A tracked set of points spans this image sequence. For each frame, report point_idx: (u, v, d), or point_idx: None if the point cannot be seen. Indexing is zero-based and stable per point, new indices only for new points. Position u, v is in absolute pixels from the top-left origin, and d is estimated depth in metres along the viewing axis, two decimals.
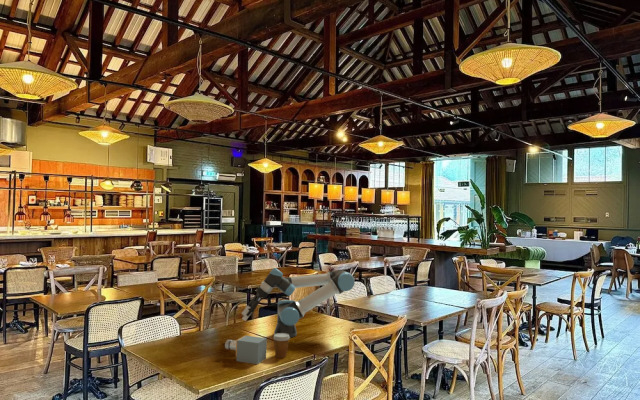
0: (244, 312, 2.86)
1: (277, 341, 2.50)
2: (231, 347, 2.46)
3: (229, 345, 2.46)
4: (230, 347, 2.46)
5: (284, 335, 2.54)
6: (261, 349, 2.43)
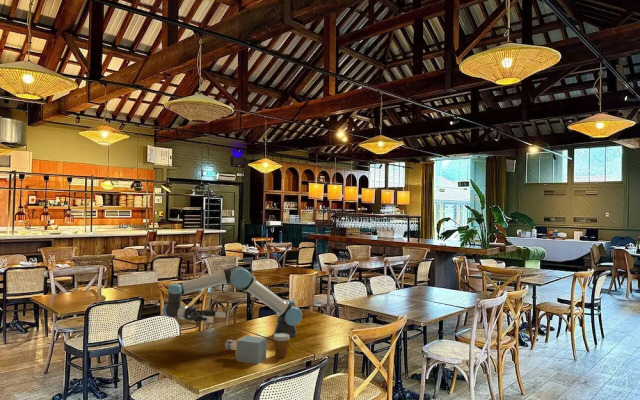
0: (222, 315, 2.59)
1: (277, 341, 2.50)
2: (231, 347, 2.46)
3: (229, 345, 2.46)
4: (230, 347, 2.46)
5: (284, 335, 2.54)
6: (261, 349, 2.43)
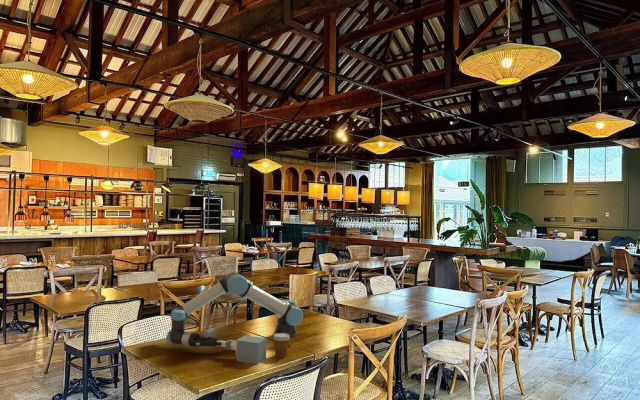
0: (224, 344, 2.50)
1: (277, 341, 2.50)
2: (231, 347, 2.46)
3: (229, 345, 2.46)
4: (230, 347, 2.46)
5: (284, 335, 2.54)
6: (261, 349, 2.43)
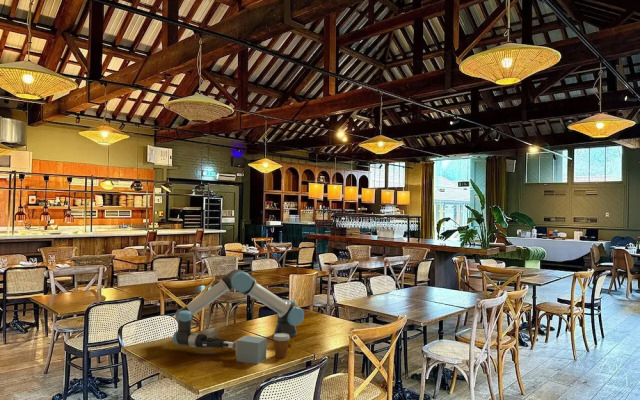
0: None
1: (277, 341, 2.50)
2: None
3: None
4: None
5: (284, 335, 2.54)
6: (261, 349, 2.43)
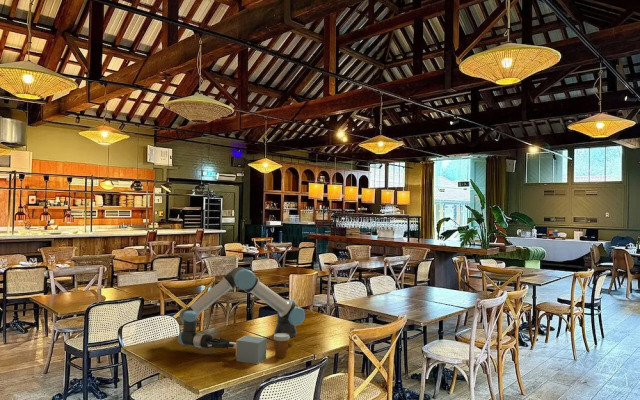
0: None
1: (277, 341, 2.50)
2: None
3: None
4: None
5: (284, 335, 2.54)
6: (261, 349, 2.43)
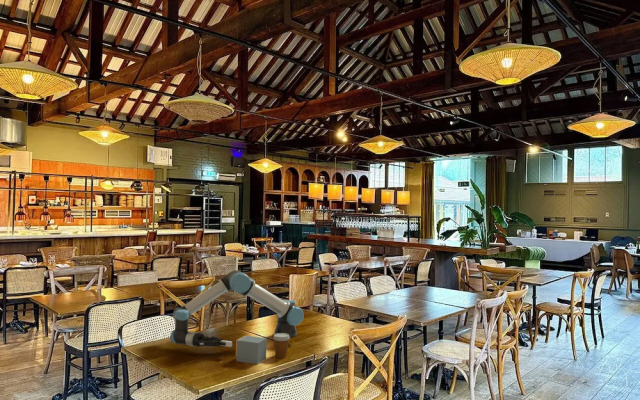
0: None
1: (277, 341, 2.50)
2: None
3: None
4: None
5: (284, 335, 2.54)
6: (261, 349, 2.43)
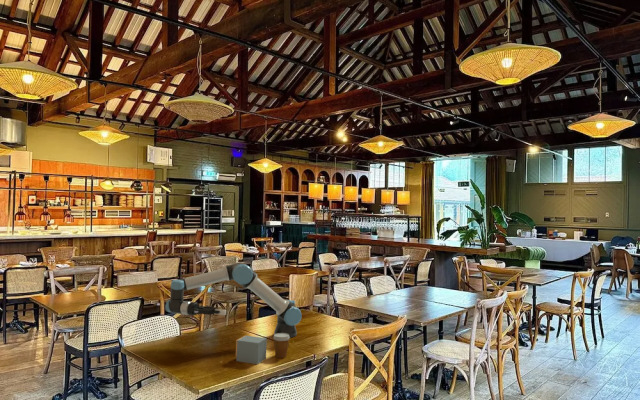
0: None
1: (277, 341, 2.50)
2: None
3: None
4: None
5: (284, 335, 2.54)
6: (261, 349, 2.43)
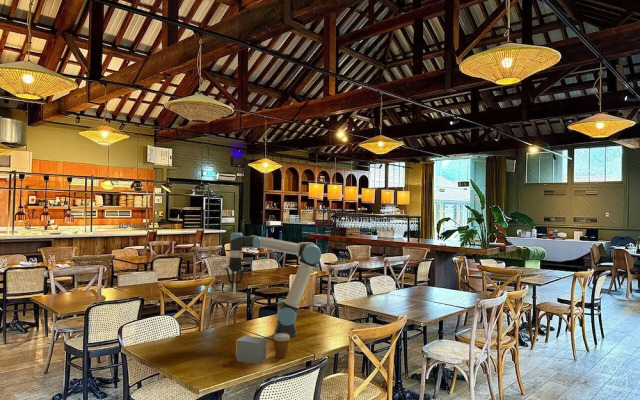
0: None
1: (277, 341, 2.50)
2: None
3: None
4: None
5: (284, 335, 2.54)
6: (261, 349, 2.43)
